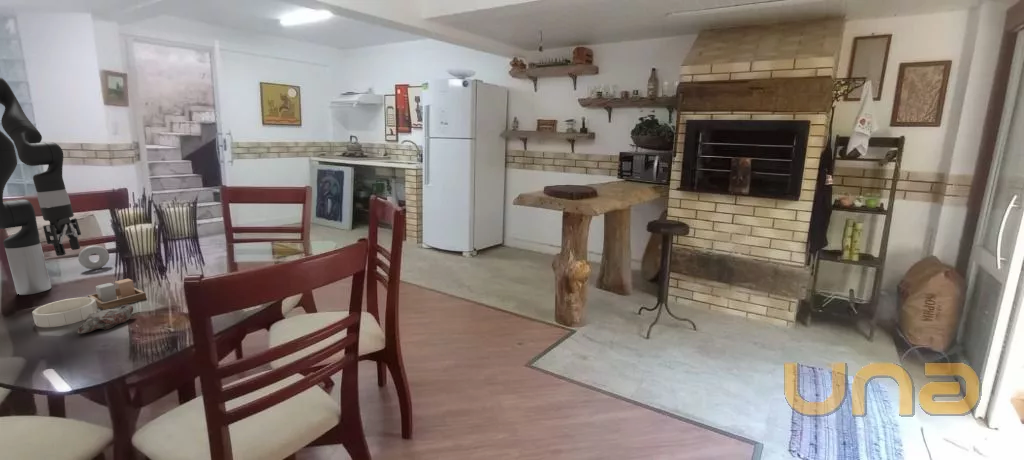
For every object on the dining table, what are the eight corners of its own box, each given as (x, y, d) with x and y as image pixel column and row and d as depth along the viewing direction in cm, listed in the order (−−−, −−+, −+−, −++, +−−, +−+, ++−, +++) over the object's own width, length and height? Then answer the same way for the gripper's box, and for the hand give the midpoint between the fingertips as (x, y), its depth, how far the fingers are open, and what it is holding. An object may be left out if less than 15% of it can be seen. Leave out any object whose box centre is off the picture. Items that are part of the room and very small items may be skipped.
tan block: (117, 298, 170) (114, 281, 169) (131, 294, 173) (128, 278, 172) (122, 300, 168) (118, 283, 166) (136, 296, 171) (132, 280, 170)
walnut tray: (89, 302, 168) (87, 295, 167) (131, 291, 177) (129, 285, 177) (103, 310, 160) (101, 303, 159) (146, 299, 169) (145, 292, 169)
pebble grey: (99, 302, 166) (95, 286, 165) (113, 299, 169) (110, 282, 168) (103, 305, 164) (99, 288, 162) (117, 301, 167) (114, 284, 166)
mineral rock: (81, 338, 140) (77, 324, 139) (72, 331, 145) (69, 317, 144) (142, 321, 152) (139, 307, 151) (132, 315, 156) (129, 302, 155)
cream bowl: (30, 321, 153) (27, 308, 152) (89, 306, 164) (86, 294, 163) (43, 332, 144) (40, 318, 144) (104, 315, 156) (101, 303, 155)
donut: (82, 272, 201) (76, 249, 198) (80, 271, 203) (74, 247, 200) (112, 266, 208) (107, 243, 206) (110, 265, 210) (105, 242, 208)
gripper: (54, 203, 167) (67, 249, 171) (27, 209, 154) (42, 259, 157) (80, 200, 169) (93, 246, 172) (55, 206, 156) (69, 255, 159)
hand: (68, 252), depth 165 cm, fingers open, 8 cm apart
